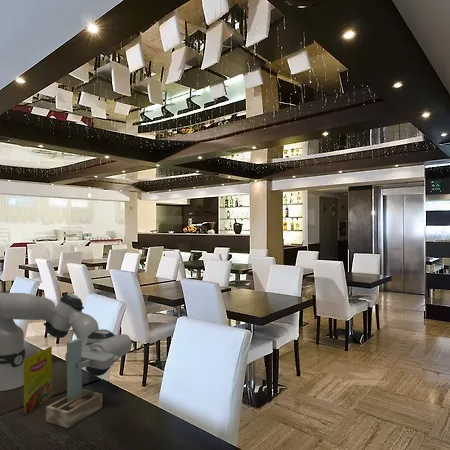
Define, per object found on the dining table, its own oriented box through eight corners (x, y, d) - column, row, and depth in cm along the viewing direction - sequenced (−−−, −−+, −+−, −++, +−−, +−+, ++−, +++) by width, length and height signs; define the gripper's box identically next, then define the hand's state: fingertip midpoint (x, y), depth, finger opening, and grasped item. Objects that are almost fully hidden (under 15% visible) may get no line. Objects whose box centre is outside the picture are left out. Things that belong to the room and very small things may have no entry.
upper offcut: (68, 413, 132) (68, 406, 132) (79, 405, 138) (79, 398, 138) (75, 414, 131) (75, 407, 131) (86, 406, 137) (86, 399, 137)
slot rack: (45, 421, 131) (45, 406, 131) (81, 401, 145) (81, 388, 145) (67, 428, 126) (67, 413, 126) (102, 407, 141) (102, 393, 141)
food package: (25, 415, 135) (25, 359, 135) (22, 415, 135) (22, 359, 135) (53, 396, 150) (52, 346, 150) (50, 396, 150) (50, 345, 150)
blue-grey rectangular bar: (67, 403, 137) (66, 342, 137) (77, 397, 141) (77, 338, 141) (71, 404, 136) (70, 343, 136) (81, 398, 141) (81, 339, 141)
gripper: (121, 365, 146) (95, 379, 134) (82, 358, 155) (54, 369, 143) (121, 349, 146) (95, 361, 134) (82, 342, 155) (54, 353, 143)
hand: (73, 365), depth 138 cm, fingers closed on blue-grey rectangular bar, 2 cm apart
